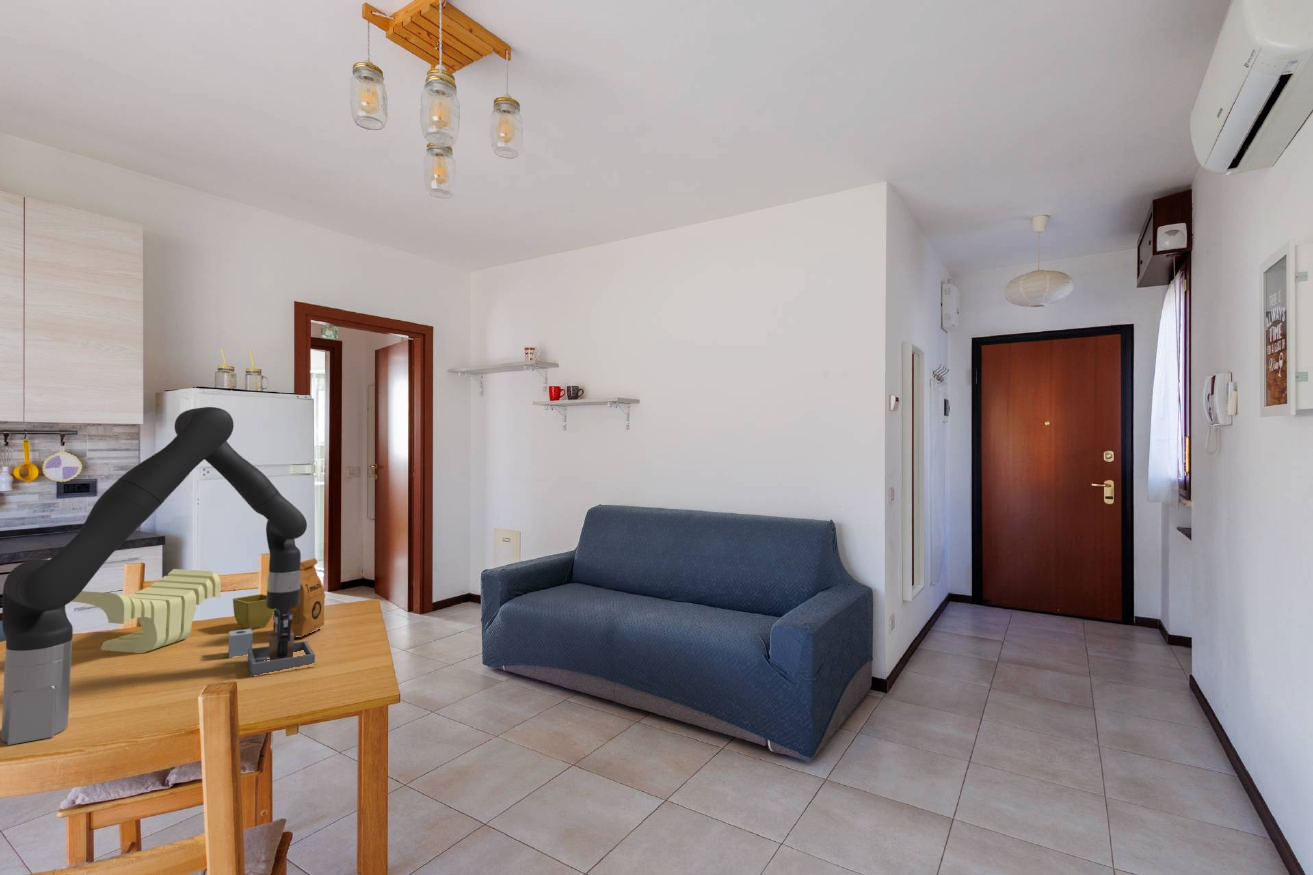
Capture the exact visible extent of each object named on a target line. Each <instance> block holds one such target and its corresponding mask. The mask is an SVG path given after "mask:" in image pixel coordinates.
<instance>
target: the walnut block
mask: <svg viewBox="0 0 1313 875" xmlns="http://www.w3.org/2000/svg"><path fill="white" fill-rule="evenodd" d="M285 636H286V633H284V634H282V635H281V637H285ZM268 640H269V641H268V646H269V658H270V660H277V659H283V658H290V657H293V651H294V643H295V638H294V633H293V631H292V630H291V632H290V641H289V642H288V651H287V656H286V657H278V656H277V647H278V642H277V634H276V633H275V632H274V631H271V632H269V637H268Z"/></svg>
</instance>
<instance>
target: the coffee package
mask: <svg viewBox="0 0 1313 875" xmlns="http://www.w3.org/2000/svg"><path fill="white" fill-rule="evenodd" d="M317 564H318V560H317V558H311V559H308V560H303V561H301V563H300V575H301V586H300V603H299V605H298V606H296V607H291V608H290V609H289V612H290V611H291V614H292V622H291V630H292V631H293V633H294V637H296V636H304V635H306V634H308V635H310V634H309V633H310V632H312V631H314V630H316V629H317V628H320V627H321V626H323V625H324V626H325V605H326V604H325V603H326V592H325V587H324V585H323V583H322V580H321V579H320V577H319V576H318V573H317V569H316V567H315V565H317ZM324 626H323V627H324ZM306 636H307V635H306ZM304 637H305V636H304Z"/></svg>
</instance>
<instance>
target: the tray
mask: <svg viewBox="0 0 1313 875" xmlns="http://www.w3.org/2000/svg"><path fill="white" fill-rule="evenodd" d="M301 650H304V652H305V654H306V655H303V656H297V657H290V658H283V659H277V660H270V659H267V658H269V645H268V646H267V645H266V646H260V647H252V648H251V649H248V656H247V658H246V659H247V660H248V662H247V665H248V664H249V666H248V668H250V669H249V672H251V673H250V676H251V675H252V676H254V675H260V674H263V673H269V672H274V671H280V670H283V669H289V668H293V667H300V666H303V665H309V664H312V663H315V659H316V654H315V652H314V650H313V649H312V647H311V646H310V643H309V642H308V640H304V641H303V640H302V641H297V642H295V641H294V651H293V652H297V651H301ZM264 660H265V661H264ZM267 660H270V661H267Z"/></svg>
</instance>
